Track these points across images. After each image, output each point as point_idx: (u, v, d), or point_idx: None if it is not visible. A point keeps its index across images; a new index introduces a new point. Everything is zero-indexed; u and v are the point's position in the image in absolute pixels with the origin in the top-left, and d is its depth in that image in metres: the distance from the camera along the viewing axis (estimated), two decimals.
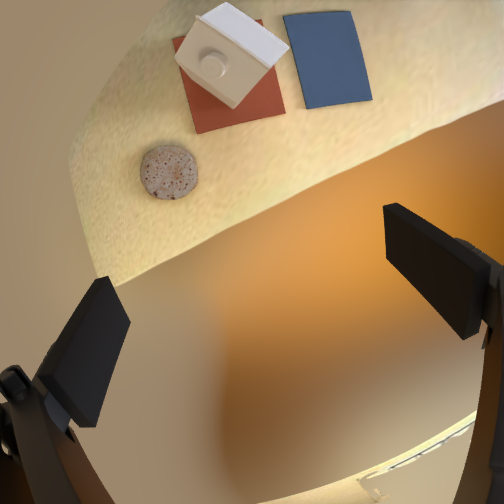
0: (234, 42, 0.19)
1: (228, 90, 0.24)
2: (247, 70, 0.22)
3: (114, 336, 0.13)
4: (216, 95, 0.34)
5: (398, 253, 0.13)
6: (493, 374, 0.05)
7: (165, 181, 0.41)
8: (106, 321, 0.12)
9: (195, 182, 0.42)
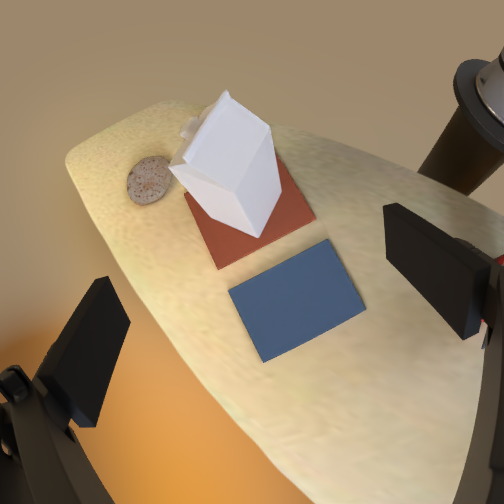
0: (203, 123, 0.24)
1: (177, 153, 0.27)
2: None
3: (115, 336, 0.13)
4: None
5: (398, 253, 0.13)
6: (493, 374, 0.05)
7: (140, 178, 0.45)
8: (106, 321, 0.12)
9: (141, 203, 0.44)
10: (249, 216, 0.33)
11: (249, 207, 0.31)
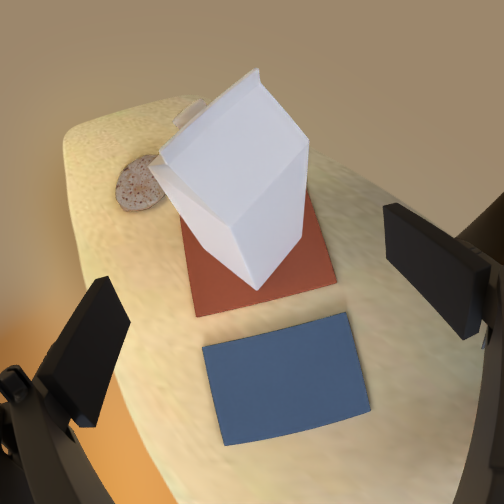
0: None
1: None
2: None
3: (114, 336, 0.13)
4: None
5: (398, 253, 0.13)
6: (493, 374, 0.05)
7: (134, 177, 0.36)
8: (106, 321, 0.12)
9: (126, 208, 0.35)
10: (249, 263, 0.23)
11: (252, 252, 0.22)
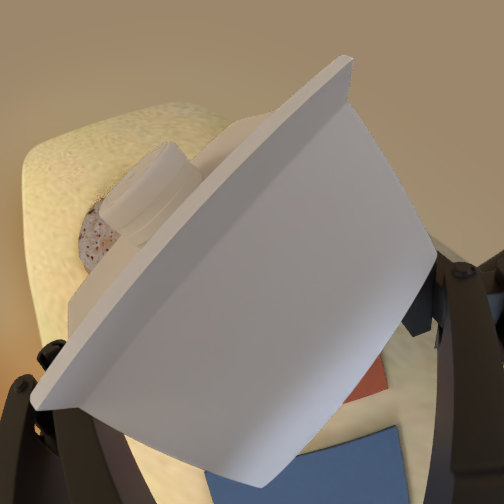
0: (184, 210, 0.04)
1: (98, 268, 0.08)
2: None
3: None
4: None
5: None
6: (446, 375, 0.06)
7: (102, 225, 0.25)
8: None
9: None
10: None
11: None
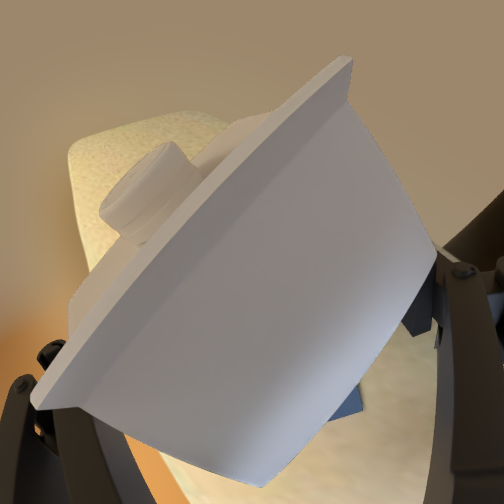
0: (184, 210, 0.04)
1: (98, 267, 0.08)
2: None
3: None
4: None
5: None
6: (446, 375, 0.06)
7: None
8: None
9: None
10: None
11: None
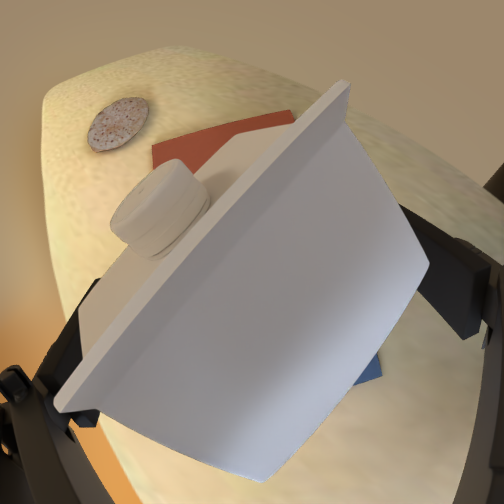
0: None
1: (108, 276, 0.08)
2: None
3: None
4: None
5: None
6: (493, 374, 0.05)
7: (108, 119, 0.31)
8: None
9: (96, 148, 0.29)
10: None
11: None
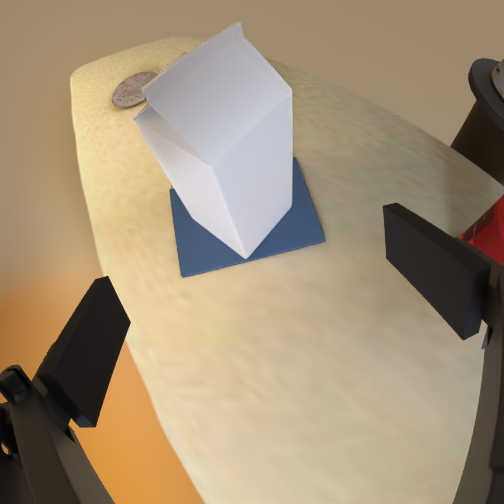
0: None
1: None
2: None
3: (115, 336, 0.13)
4: None
5: (398, 253, 0.13)
6: (493, 374, 0.05)
7: (128, 86, 0.40)
8: (106, 321, 0.12)
9: (119, 105, 0.39)
10: (234, 220, 0.22)
11: (237, 205, 0.21)
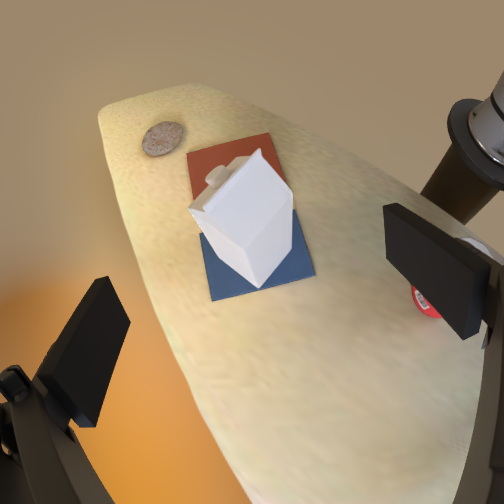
0: None
1: (199, 197, 0.29)
2: None
3: (114, 336, 0.13)
4: None
5: (398, 253, 0.13)
6: (493, 374, 0.05)
7: (156, 135, 0.52)
8: (106, 321, 0.12)
9: (150, 154, 0.51)
10: (253, 270, 0.34)
11: (255, 262, 0.33)
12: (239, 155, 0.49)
